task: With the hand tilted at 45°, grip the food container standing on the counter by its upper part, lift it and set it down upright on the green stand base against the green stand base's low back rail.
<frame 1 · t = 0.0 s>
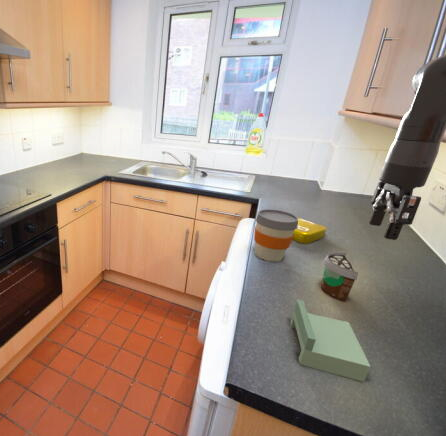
hand: (381, 231, 69), 22 cm above the countertop, tool pointing down, fingers open, 8 cm apart
reusable coffee cup: (268, 255, 104), on the countertop
green stand base: (322, 349, 64), on the countertop
food container: (328, 290, 85), on the countertop
yellow flat block: (296, 234, 122), on the countertop
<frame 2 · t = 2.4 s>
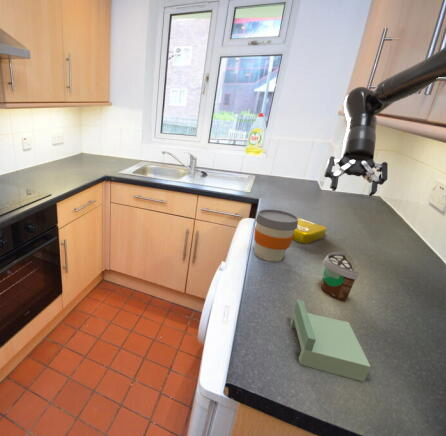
hand: (352, 192, 84), 27 cm above the countertop, tool tilted 45°, fingers open, 8 cm apart
nothing on the countertop moved.
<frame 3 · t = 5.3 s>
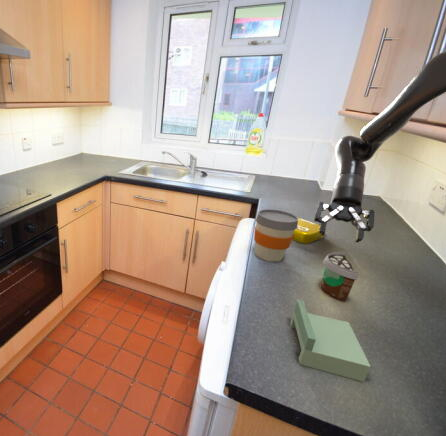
hand: (339, 237, 87), 13 cm above the countertop, tool tilted 45°, fingers open, 8 cm apart
nothing on the countertop moved.
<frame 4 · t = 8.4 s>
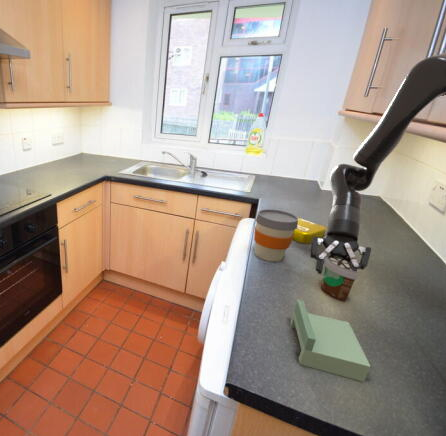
hand: (334, 276, 82), 5 cm above the countertop, tool tilted 45°, fingers closed on food container, 6 cm apart
food container: (328, 290, 85), on the countertop, touching gripper
everything else where it was.
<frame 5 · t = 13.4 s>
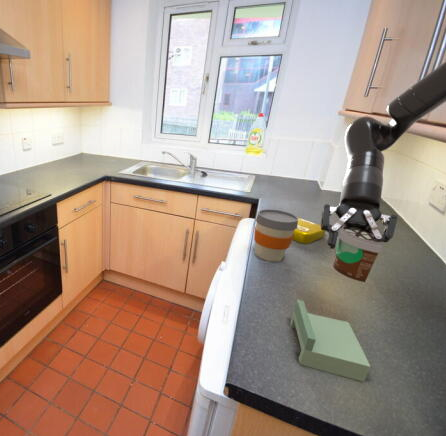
hand: (351, 251, 66), 19 cm above the countertop, tool tilted 45°, fingers closed on food container, 6 cm apart
food container: (342, 269, 70), point 14 cm above the countertop, touching gripper
everything else where it was.
when the fingers open (9 cm above the countertop, at t = 18.8 s): food container stays where it is, resting on green stand base.
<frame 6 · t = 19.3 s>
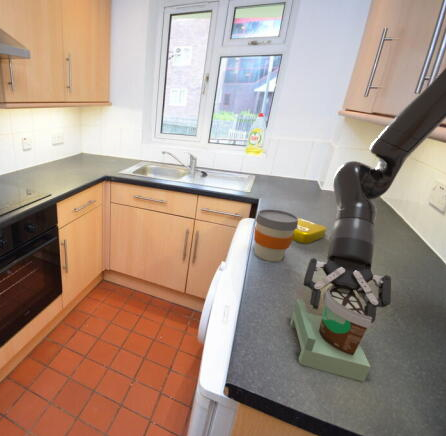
hand: (340, 316, 59), 10 cm above the countertop, tool tilted 45°, fingers open, 8 cm apart
food container: (329, 335, 63), point 4 cm above the countertop, touching green stand base
everything else where it was.
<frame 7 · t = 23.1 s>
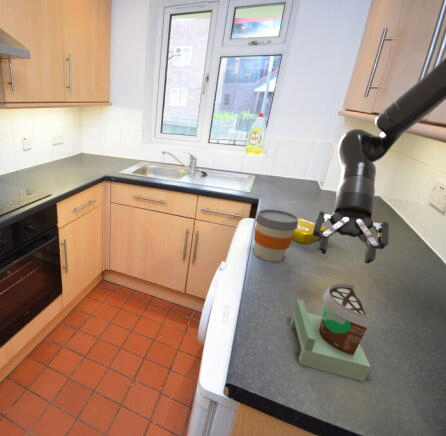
hand: (345, 257, 70), 16 cm above the countertop, tool tilted 45°, fingers open, 8 cm apart
nothing on the countertop moved.
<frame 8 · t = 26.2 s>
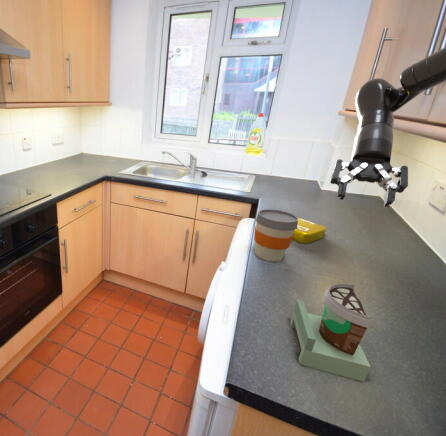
hand: (364, 201, 70), 29 cm above the countertop, tool tilted 45°, fingers open, 8 cm apart
nothing on the countertop moved.
at the end: food container inside the target area on the green stand base (0.5 cm from its centre), point 3.8 cm above the green stand base's base; food container tilted 0°; the gripper is holding nothing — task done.
